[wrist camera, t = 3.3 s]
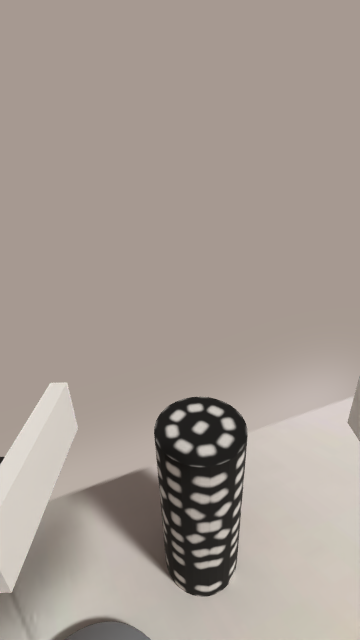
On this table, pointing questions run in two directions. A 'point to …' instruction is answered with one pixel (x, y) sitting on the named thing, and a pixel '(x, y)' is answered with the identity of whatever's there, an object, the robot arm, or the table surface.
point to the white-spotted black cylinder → (201, 490)
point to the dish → (108, 632)
